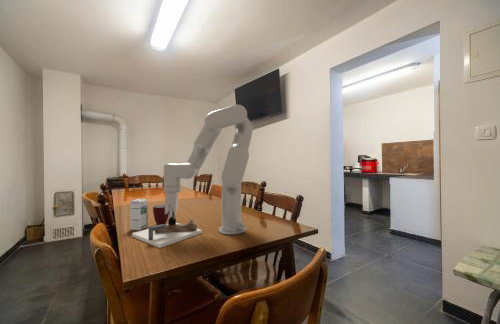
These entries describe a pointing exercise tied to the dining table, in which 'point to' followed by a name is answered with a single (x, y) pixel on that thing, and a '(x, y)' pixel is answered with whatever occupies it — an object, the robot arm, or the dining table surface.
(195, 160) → the robot arm
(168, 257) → the dining table surface
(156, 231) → the walnut link
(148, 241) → the pintle board
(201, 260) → the dining table surface
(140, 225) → the syrup box
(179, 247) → the dining table surface
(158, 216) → the mug
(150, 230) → the block
